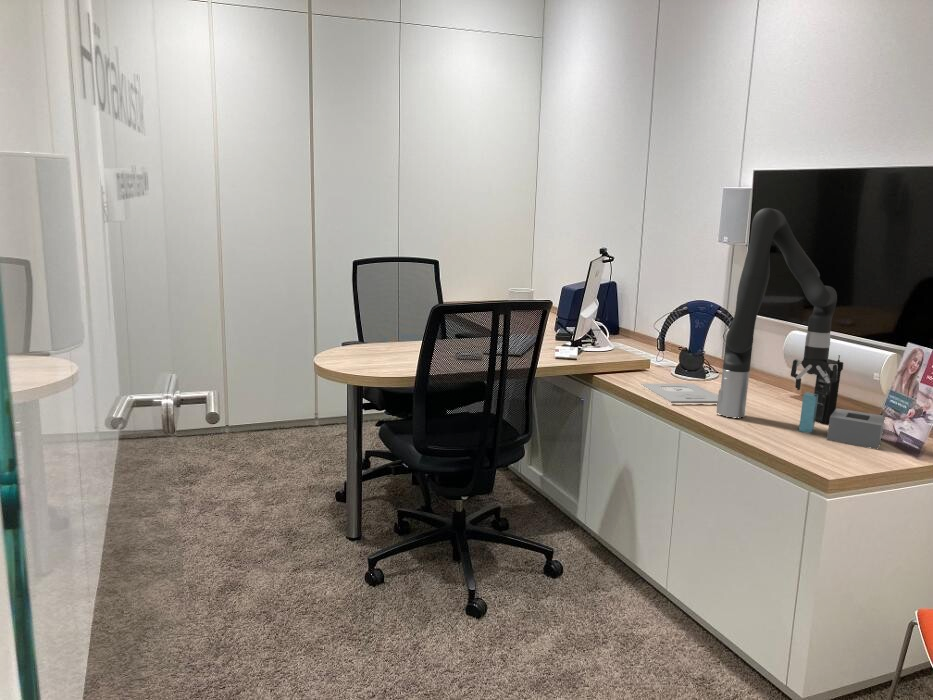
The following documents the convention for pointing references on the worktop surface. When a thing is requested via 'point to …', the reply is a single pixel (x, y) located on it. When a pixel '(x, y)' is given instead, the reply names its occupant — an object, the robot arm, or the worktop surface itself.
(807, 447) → the worktop surface
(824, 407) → the portable radio
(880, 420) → the block
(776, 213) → the robot arm
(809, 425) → the teal rectangular block
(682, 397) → the award plaque
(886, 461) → the worktop surface
